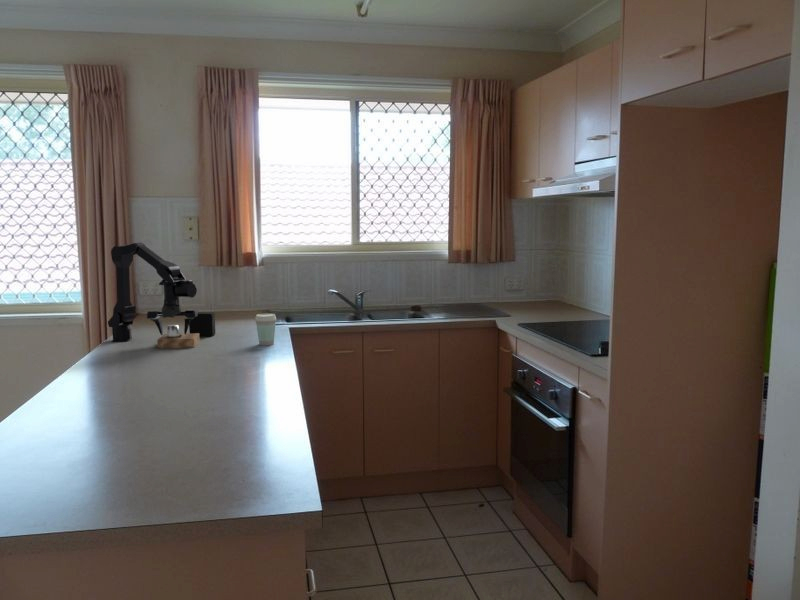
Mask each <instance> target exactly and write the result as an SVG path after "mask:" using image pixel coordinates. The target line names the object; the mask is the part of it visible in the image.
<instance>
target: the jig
mask: <svg viewBox="0 0 800 600" xmlns="http://www.w3.org/2000/svg"><path fill="white" fill-rule="evenodd" d="M179 337H180V338H168V333H164V334H163V335H160V337H158V338H157V340H156V341H157V349H186V348H187V349H189V348H195V347H196V346H197V345H198V344H199V343H200V341H201V340H200V338H201V337H199V333H190V332H188V333H186V335H185V334H184V333H179Z"/></svg>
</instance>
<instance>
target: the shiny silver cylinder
mask: <svg viewBox="0 0 800 600" xmlns="http://www.w3.org/2000/svg"><path fill="white" fill-rule="evenodd" d="M166 328H167V329H166V330H167V333H166V334H168V338H180V337H179V334H180V324H168V325H166Z"/></svg>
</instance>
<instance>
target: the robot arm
mask: <svg viewBox="0 0 800 600" xmlns="http://www.w3.org/2000/svg"><path fill="white" fill-rule="evenodd" d="M136 255H137V256H138V257H140V259H142V260H143V261H145V262H146V263H148V264H149V266H152V267H153V268H154V269H155V271H156V273H157V275H158V276H159V277H160V278H161V279H162V280H161V281H160V282H159V283H158V285H159V286H163V296H164V297H163V306H162V308H161V310H160V309H150V310H148V311H147V313H146V319H147V320H148V319H149V320H150V321H151V322H152V321H153V322H154V323H155V325H156V327H157V330H158V332H159V334H160V336H163V335H164V334H163V322H162V321H163V320H162V318H163V319H164V318H165V319H166V318H175V317H179V316H180V317H181V316H182V317H185V318H184V328H183V334H185V335H186V334H188V329H189V324H190V321H191V320H192V319H193V318H195V317H196V316H198V309H197V308H186V310H182V309H181V308H182V307H181V304H180V300H181V299H180V298H189V299H190V298H191V299H193V298H194V297H195V296H196V295H197V291H198V289H197V287H196V284H195V283H193V282H194V281H193V280H192V279H189V280H187V279H186V278H187V277H185V276H184V274H183V272H182V270H181V268H180V266H179V265H178V264H175V263H174V262H172V261H171V262H170V261H168V260H165V259H163V258H162V257H161V256H159V255H158V254H157V253H155V252H154V251H153V250H151V249H150V248H148V247H147V246H146V245H145V244H144V243H142V242H132V243H131V244H124V245H122V244H121V245H115V246H113V247H112V248H111V250H110V256H111V260H112V263H113V264H114V266H115V268H116V271H115V272H116V273H115V274H116V303H115V304H114V307H113V311H112V316H111V317H110V318H109V320H108V321H107V325H108V327H109V328H111V330H112V331H111V332H112V340H111V342H112V343H113V342H128V341H131V340H132V337H133V336H132V328H131V326H130V325H134V324H133V323H134V320H135V318H136V315H137V313H136V309H137V307H136V305H135V304H134V305H133V303H132V302H131V292H130V291H131V288H130V287H131V285H130V266H131V264H132V262H134V261H133V260H134V256H136Z"/></svg>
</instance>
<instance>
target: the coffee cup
mask: <svg viewBox="0 0 800 600" xmlns="http://www.w3.org/2000/svg"><path fill="white" fill-rule="evenodd" d="M254 321H255V324H256V330H257V331H256V332H257V339H258V345H260V346H273V345H274V344H275V335H276V334H275V333H276V325H277V323H276V322H277V317H276V314H275V313H258V314H256V315H255V318H254Z"/></svg>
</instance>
